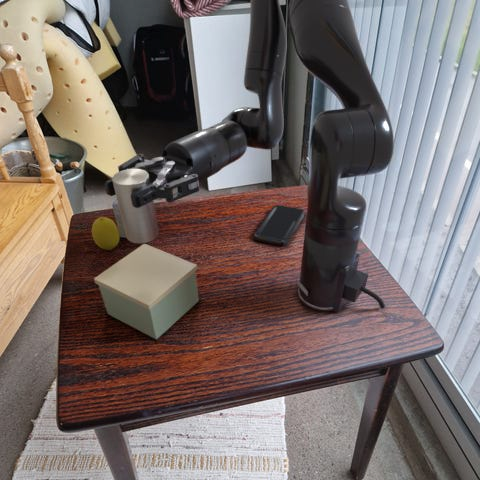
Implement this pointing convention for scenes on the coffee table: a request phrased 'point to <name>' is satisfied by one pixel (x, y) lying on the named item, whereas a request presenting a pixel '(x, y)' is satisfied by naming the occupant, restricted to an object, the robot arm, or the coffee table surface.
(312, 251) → the robot arm
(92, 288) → the coffee table surface
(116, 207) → the medicine box
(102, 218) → the lemon
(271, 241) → the phone
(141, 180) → the tea tin
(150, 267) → the storage box
